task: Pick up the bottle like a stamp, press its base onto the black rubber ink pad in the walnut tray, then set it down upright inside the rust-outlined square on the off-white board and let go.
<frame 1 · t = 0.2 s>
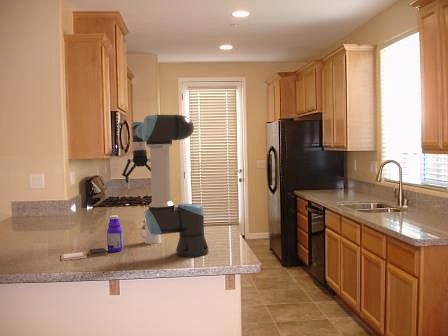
hand: (141, 188, 252), 28 cm above the worktop, fingers open, 13 cm apart
mug: (150, 243, 239), on the worktop
print board: (73, 256, 214), on the worktop
ink pad: (97, 253, 218), on the worktop
bottle: (115, 251, 223), on the worktop
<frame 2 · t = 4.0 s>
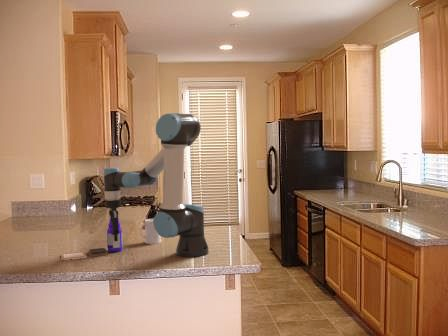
hand: (115, 246, 223), 2 cm above the worktop, fingers closed on bottle, 6 cm apart
bottle: (115, 251, 223), on the worktop, touching gripper
everything else where it was.
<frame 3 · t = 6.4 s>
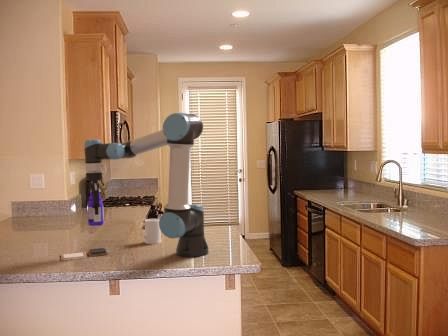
hand: (96, 220, 217), 16 cm above the worktop, fingers closed on bottle, 6 cm apart
bottle: (96, 225, 217), point 14 cm above the worktop, touching gripper
everything else where it was.
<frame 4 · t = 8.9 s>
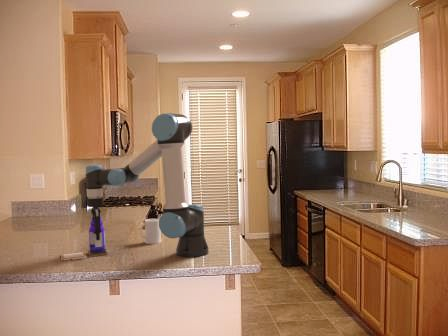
hand: (97, 245, 218), 4 cm above the worktop, fingers closed on bottle, 6 cm apart
bottle: (97, 250, 218), point 2 cm above the worktop, touching gripper, ink pad
everything else where it was.
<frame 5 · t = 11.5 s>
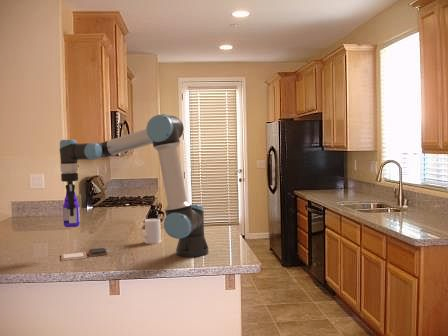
hand: (71, 221, 213), 17 cm above the worktop, fingers closed on bottle, 6 cm apart
bottle: (72, 227, 213), point 14 cm above the worktop, touching gripper
everything else where it was.
when the fingers open (4 cm above the worktop, at t = 13.9 s): bottle drops 1 cm, resting on print board.
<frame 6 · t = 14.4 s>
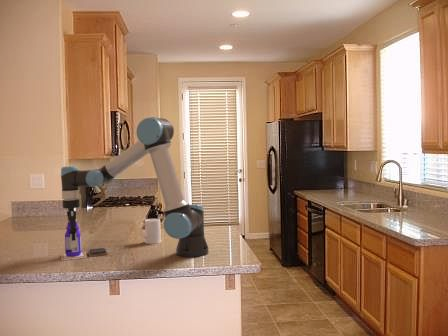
hand: (73, 244, 214), 6 cm above the worktop, fingers open, 13 cm apart
bottle: (73, 255, 214), resting on print board
everything else where it was.
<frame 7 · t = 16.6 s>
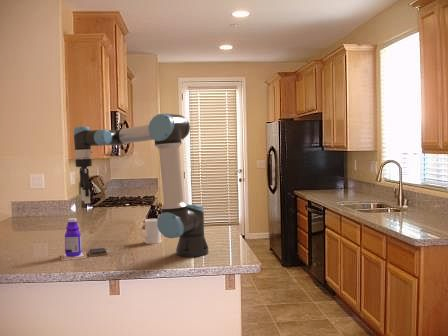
hand: (85, 202, 222), 25 cm above the worktop, fingers open, 13 cm apart
nothing on the worktop moved.
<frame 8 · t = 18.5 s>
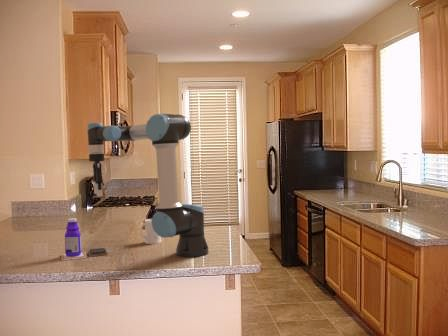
hand: (98, 195, 231), 27 cm above the worktop, fingers open, 13 cm apart
nothing on the worktop moved.
at the end: bottle inside the target area on the print board (0.0 cm from its centre), point 0.4 cm above the print board's base; bottle tilted 0°; the gripper is holding nothing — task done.
